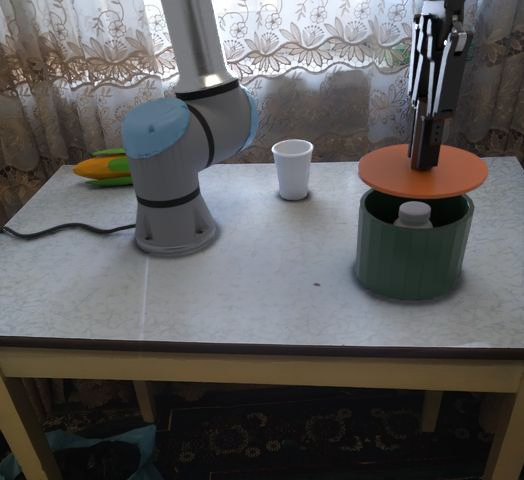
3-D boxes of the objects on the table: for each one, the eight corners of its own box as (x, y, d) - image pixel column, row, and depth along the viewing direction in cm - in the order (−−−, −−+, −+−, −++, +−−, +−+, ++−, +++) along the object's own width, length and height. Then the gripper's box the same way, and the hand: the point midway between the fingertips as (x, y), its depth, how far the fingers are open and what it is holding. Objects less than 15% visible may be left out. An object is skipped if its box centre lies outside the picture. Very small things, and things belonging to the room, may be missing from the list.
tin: (370, 309, 80) (377, 237, 72) (344, 253, 93) (347, 186, 84) (476, 296, 81) (494, 223, 73) (436, 242, 93) (448, 174, 85)
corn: (153, 151, 114) (61, 158, 114) (159, 185, 119) (71, 192, 119) (157, 141, 120) (70, 148, 120) (163, 174, 125) (79, 180, 125)
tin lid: (376, 210, 68) (383, 130, 62) (343, 158, 82) (346, 87, 75) (510, 194, 69) (531, 113, 63) (455, 145, 83) (468, 74, 76)
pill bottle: (426, 282, 84) (437, 218, 76) (387, 280, 85) (394, 216, 77) (425, 262, 88) (435, 199, 81) (388, 260, 89) (395, 198, 82)
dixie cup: (279, 205, 108) (277, 157, 101) (270, 188, 114) (267, 142, 108) (318, 199, 109) (318, 151, 102) (307, 183, 115) (307, 136, 108)
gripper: (518, -42, 53) (472, 181, 68) (454, -54, 65) (427, 138, 81) (445, -35, 52) (415, 188, 68) (394, -49, 65) (379, 143, 80)
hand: (422, 160), depth 74 cm, fingers closed on tin lid, 3 cm apart
